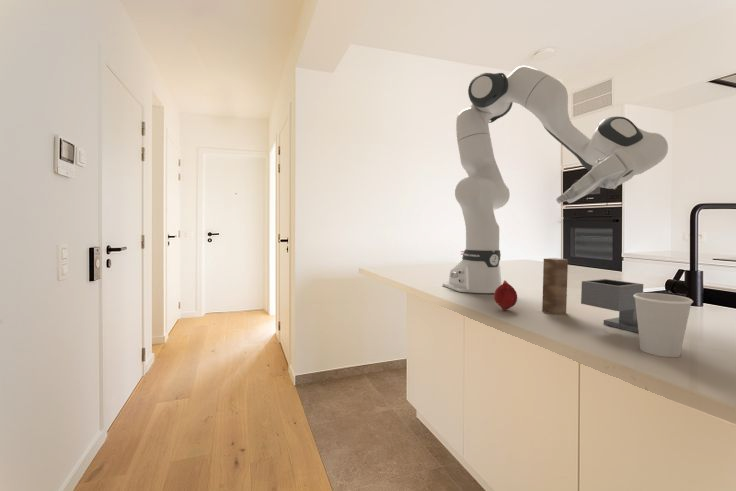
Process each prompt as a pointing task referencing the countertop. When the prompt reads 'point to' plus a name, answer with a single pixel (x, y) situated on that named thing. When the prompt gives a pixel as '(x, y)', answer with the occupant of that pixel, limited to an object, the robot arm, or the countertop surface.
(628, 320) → the box
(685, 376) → the countertop surface
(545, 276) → the rail post
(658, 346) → the dixie cup
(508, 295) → the onion
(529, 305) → the countertop surface
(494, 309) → the countertop surface
